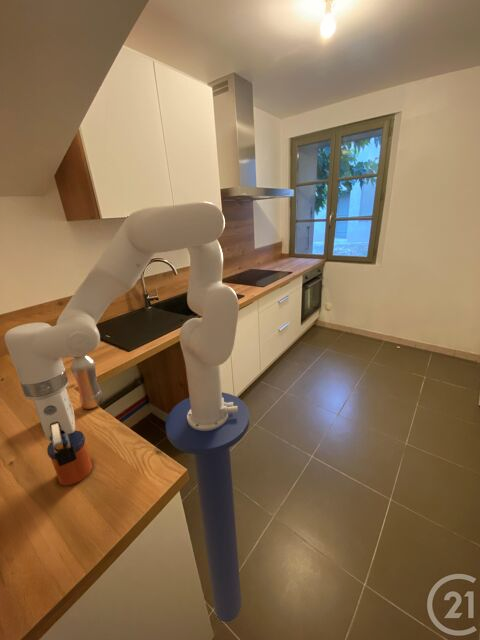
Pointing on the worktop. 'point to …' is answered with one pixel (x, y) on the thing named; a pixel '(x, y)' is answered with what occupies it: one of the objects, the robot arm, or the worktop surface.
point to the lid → (75, 439)
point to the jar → (74, 468)
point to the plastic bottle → (87, 381)
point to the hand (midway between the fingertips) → (67, 448)
